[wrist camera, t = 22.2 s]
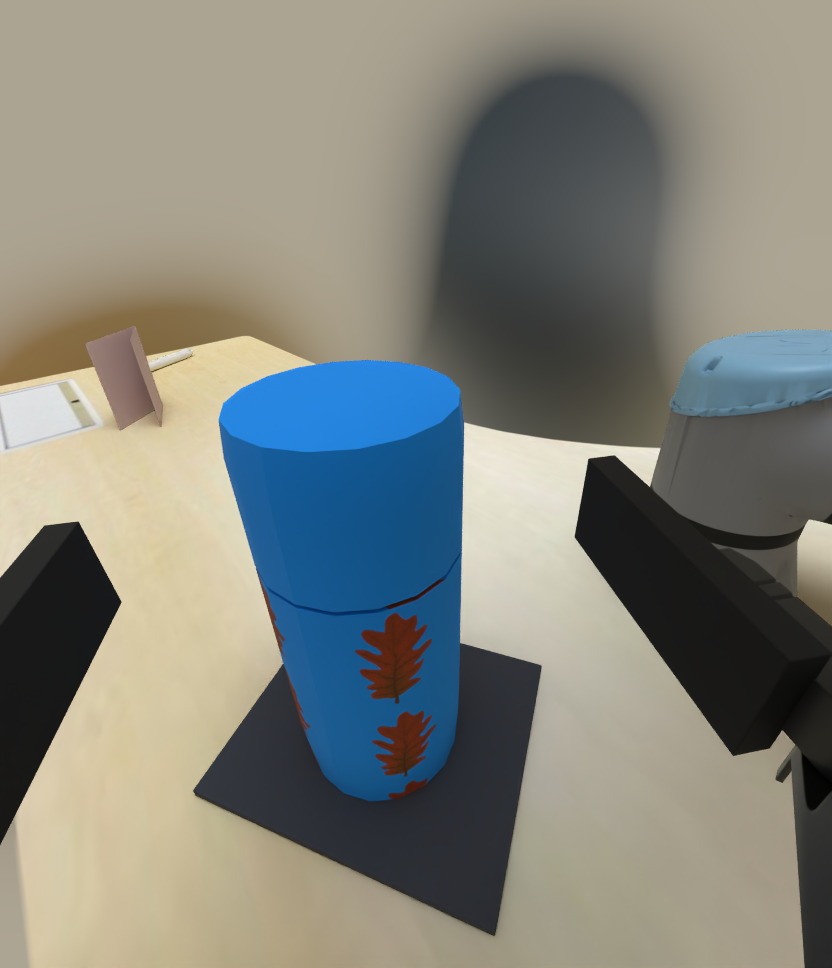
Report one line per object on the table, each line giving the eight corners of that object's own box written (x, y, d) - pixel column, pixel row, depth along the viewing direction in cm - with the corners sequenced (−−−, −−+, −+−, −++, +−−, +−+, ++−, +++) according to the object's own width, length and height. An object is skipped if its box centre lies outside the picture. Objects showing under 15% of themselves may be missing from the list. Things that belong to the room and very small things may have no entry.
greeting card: (158, 404, 91) (130, 325, 83) (192, 406, 90) (167, 326, 82) (116, 430, 81) (80, 343, 74) (153, 432, 80) (120, 344, 72)
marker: (191, 354, 120) (188, 345, 119) (197, 355, 119) (194, 346, 118) (131, 377, 106) (127, 367, 105) (137, 378, 106) (133, 367, 104)
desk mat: (325, 609, 44) (324, 605, 44) (540, 669, 38) (541, 665, 37) (195, 795, 31) (192, 790, 30) (494, 936, 24) (495, 932, 24)
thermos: (330, 837, 28) (223, 483, 15) (294, 690, 36) (206, 381, 23) (487, 758, 31) (515, 416, 18) (421, 641, 40) (408, 348, 27)
